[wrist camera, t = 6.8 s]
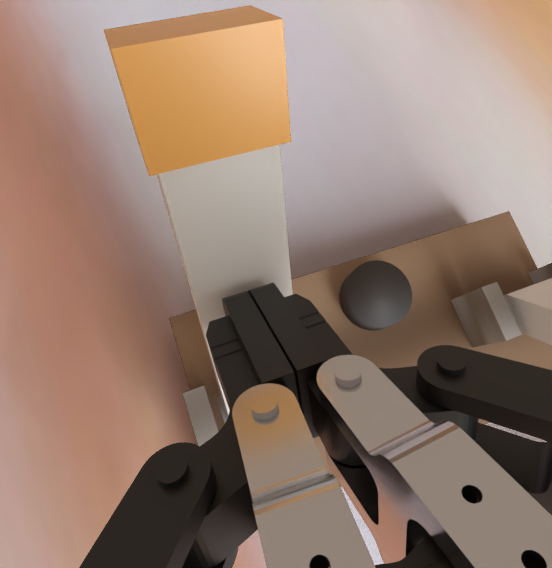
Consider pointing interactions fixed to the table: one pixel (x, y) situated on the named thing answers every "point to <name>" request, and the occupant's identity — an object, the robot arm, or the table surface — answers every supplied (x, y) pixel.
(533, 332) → the lever ivory
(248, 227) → the lever orange
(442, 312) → the console
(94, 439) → the table surface
